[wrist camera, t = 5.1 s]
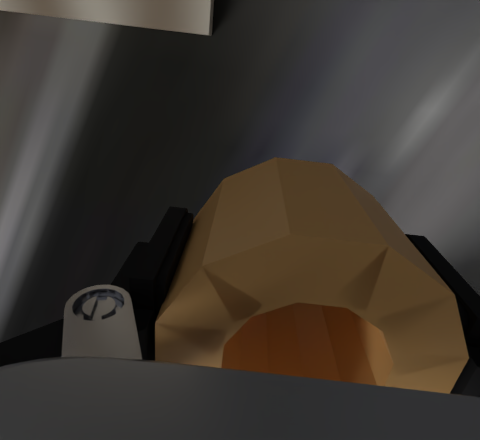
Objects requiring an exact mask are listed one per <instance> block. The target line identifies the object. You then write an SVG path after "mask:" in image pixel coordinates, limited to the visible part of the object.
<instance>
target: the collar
mask: <svg viewBox="0 0 480 440" xmlns="http://www.w3.org/2000/svg"><path fill="white" fill-rule="evenodd" d="M468 359H469V356H468V351H467V347H466V342H465V338H464V333H463V329H462V324H461V320H460V315H459V311H458V306H457V302H456V297H455V294H454V293H453V292H452V291H451V290H450V288H449V287H448V286H447V285H446V283H445V282H444V281H443V280H442V279H441V277H440V276H439V275H438V274H437V273H436V271H435V270H434V269H433V268H432V267H431V265H430V264H429V263H428V262H427V261H426V259H425V258H424V257H423V256H422V255H421V253H420V252H419V251H418V250H417V248H416V247H415V246H414V245H413V244H412V242H411V241H410V240H409V239H408V238H407V236H406V235H405V234H404V233H403V232H402V230H401V229H400V228H399V227H398V226H397V224H396V223H395V222H394V221H393V220H392V218H391V217H390V216H389V215H388V213H387V212H386V211H385V210H384V209H383V207H382V206H381V205H380V204H379V203H378V201H377V200H376V199H375V198H374V197H373V196H372V195H371V194H370V193H369V192H367V191H366V190H365V189H363V188H362V187H361V186H360V185H358V184H357V183H356V182H354V181H353V180H352V179H351V178H349V177H348V176H347V175H345V174H344V173H343V172H342V171H340V170H339V169H338V168H337V167H335V166H334V165H333V164H328V163H319V162H310V161H302V160H293V159H285V158H276V157H275V158H273V159H271V160H268V161H266V162H263V163H261V164H258V165H256V166H254V167H251V168H249V169H246V170H244V171H242V172H239V173H237V174H234V175H232V176H229V177H227V178H225V179H224V180H223V181H222V182H221V184H220V185H219V186H218V188H217V189H216V190H215V192H214V193H213V194H212V196H211V197H210V198H209V200H208V201H207V202H206V204H205V205H204V206H203V208H202V209H201V210H200V212H199V213H198V214H197V216H196V217H195V218H194V221H193V226H192V229H191V231H190V234H189V237H188V239H187V242H186V245H185V247H184V250H183V253H182V255H181V258H180V261H179V263H178V266H177V269H176V271H175V274H174V277H173V279H172V282H171V285H170V287H169V290H168V293H167V295H166V298H165V301H164V303H163V304H162V306H161V309H160V311H159V314H158V317H157V319H156V322H155V361H163V362H172V363H181V364H191V365H200V366H209V367H218V368H227V369H237V370H246V371H255V372H264V373H273V374H282V375H290V376H299V377H308V378H317V379H325V380H334V381H343V382H352V383H360V384H369V385H378V386H387V387H395V388H404V389H413V390H422V391H431V392H439V393H448V394H450V392H451V390H452V388H453V386H454V385H455V383H456V381H457V379H458V377H459V376H460V374H461V372H462V370H463V368H464V366H465V365H466V363H467V361H468Z"/></svg>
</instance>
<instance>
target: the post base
mask: <svg viewBox="0 0 480 440" xmlns="http://www.w3.org/2000/svg"><path fill="white" fill-rule="evenodd" d="M213 7H214V0H0V10H1V11H10V12H18V13H26V14H35V15H43V16H51V17H60V18H68V19H76V20H85V21H93V22H101V23H110V24H118V25H126V26H135V27H143V28H151V29H160V30H168V31H176V32H185V33H193V34H201V35H210V36H212V23H213Z"/></svg>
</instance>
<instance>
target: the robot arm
mask: <svg viewBox="0 0 480 440" xmlns="http://www.w3.org/2000/svg"><path fill="white" fill-rule="evenodd" d="M192 226H193V214H192V213H188V210H187V209H186V208H178V207H169V209H168V211H167V212H166V214H165V216H164V218H163V219H162V221H161V223H160V225H159V226H158V228H157V230H156V232H155V233H154V235H153V237H152V239H151V240H150V242H149V243H146V242H138V243H137V244H136V246H135V247H134V249H133V250H132V252H131V254H130V255H129V257H128V258H127V260H126V261H125V263H124V265H123V266H122V268H121V269H120V271H119V272H118V274H117V276H116V277H115V279H114V280H113V282H112V283H111V285H97V286H92V287H88V288H86V289H83V290H81V291H79V292H77V293H76V294H74V295H73V296H72V297H71V298H70V299H69V300H68V301H67V303H66V306H65V309H64V319H61V320H58V321H56V322H53V323H51V324H48V325H45V326H43V327H40V328H38V329H35V330H32V331H30V332H27V333H25V334H22V335H19V336H17V337H14V338H12V339H9V340H6V341H4V342H1V343H0V440H480V296H479V295H478V294H477V293H476V292H475V291H474V290H473V289H472V287H471V286H470V285H469V284H468V283H467V282H466V281H465V280H464V279H463V278H462V277H461V276H460V274H459V273H458V272H457V271H456V270H455V269H454V268H453V267H452V266H451V265H450V264H449V262H448V261H447V260H446V259H445V258H444V257H443V256H442V255H441V254H440V253H439V252H438V250H437V249H436V248H435V247H434V246H433V245H432V244H431V243H430V242H429V241H428V240H427V238H426V237H424V236H418V235H409V234H405V235H406V236H407V238H408V239H409V240H410V241H411V242H412V244H413V245H414V246H415V247H416V248H417V250H418V251H419V252H420V253H421V255H422V256H423V257H424V258H425V259H426V261H427V262H428V263H429V264H430V265H431V267H432V268H433V269H434V270H435V271H436V273H437V274H438V275H439V276H440V277H441V279H442V280H443V281H444V282H445V283H446V285H447V286H448V287H449V288H450V290H451V291H452V292H453V293H454V294H455V297H456V302H457V306H458V311H459V315H460V320H461V324H462V329H463V333H464V338H465V342H466V347H467V351H468V356H469V359H468V361H467V363H466V365H465V366H464V368H463V370H462V372H461V374H460V376H459V377H458V379H457V381H456V383H455V385H454V386H453V388H452V390H451V392H450V394H448V393H439V392H431V391H422V390H413V389H404V388H395V387H387V386H378V385H369V384H360V383H352V382H343V381H334V380H325V379H317V378H308V377H299V376H290V375H282V374H273V373H264V372H255V371H246V370H237V369H227V368H218V367H209V366H200V365H191V364H181V363H172V362H163V361H155V322H156V319H157V317H158V314H159V311H160V309H161V306H162V304H163V303H164V301H165V298H166V295H167V293H168V290H169V287H170V285H171V282H172V279H173V277H174V274H175V271H176V269H177V266H178V263H179V261H180V258H181V255H182V253H183V250H184V247H185V245H186V242H187V239H188V237H189V234H190V231H191V229H192Z"/></svg>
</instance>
